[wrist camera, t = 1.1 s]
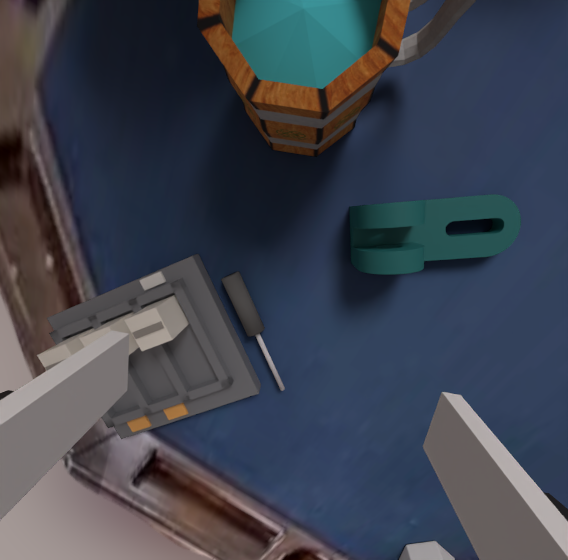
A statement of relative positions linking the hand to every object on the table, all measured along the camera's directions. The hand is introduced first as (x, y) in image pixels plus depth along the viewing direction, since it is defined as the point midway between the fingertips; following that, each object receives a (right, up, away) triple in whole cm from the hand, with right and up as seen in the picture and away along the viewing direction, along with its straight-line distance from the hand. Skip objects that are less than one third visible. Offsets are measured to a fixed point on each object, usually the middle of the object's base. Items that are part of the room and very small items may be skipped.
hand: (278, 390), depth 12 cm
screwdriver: (-3, -2, +26) cm, 27 cm away
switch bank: (-17, -5, +28) cm, 33 cm away
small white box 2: (-14, 0, +24) cm, 28 cm away
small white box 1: (-25, -4, +26) cm, 36 cm away
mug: (+5, +26, +19) cm, 33 cm away
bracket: (+17, +11, +22) cm, 30 cm away
